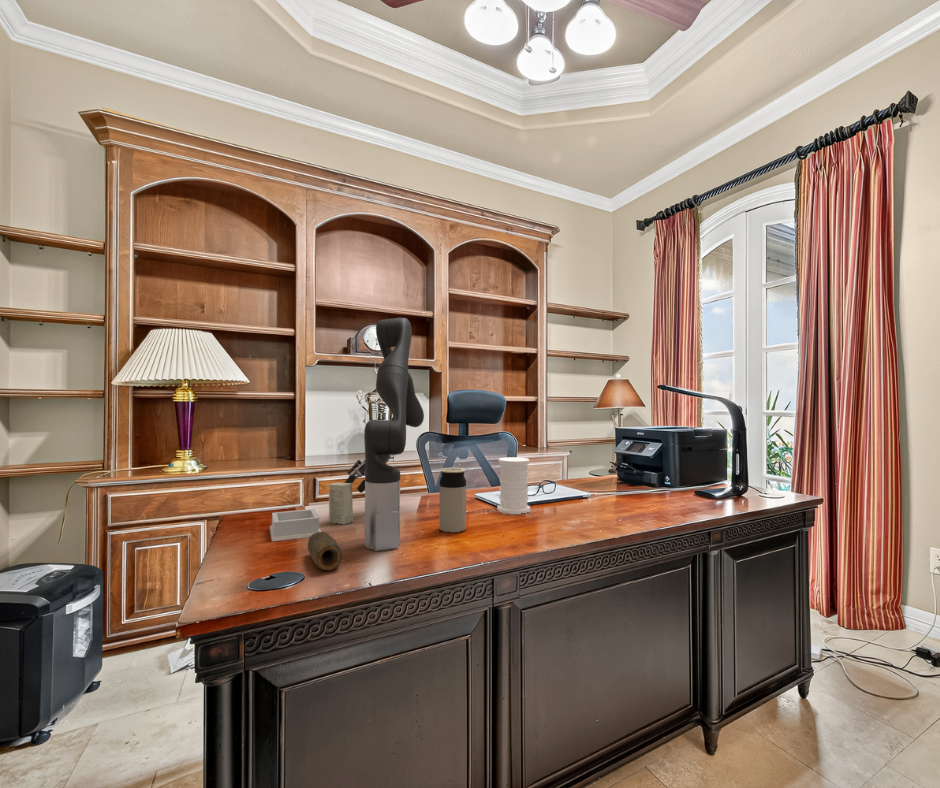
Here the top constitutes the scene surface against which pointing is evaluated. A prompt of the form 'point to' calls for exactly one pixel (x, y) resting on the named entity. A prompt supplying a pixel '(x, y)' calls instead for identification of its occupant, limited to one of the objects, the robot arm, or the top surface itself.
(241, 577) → the top surface
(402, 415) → the robot arm
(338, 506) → the skincare box
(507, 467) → the decorative container
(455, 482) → the travel mug
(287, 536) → the bottle stand
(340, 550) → the brown hollow cylinder
